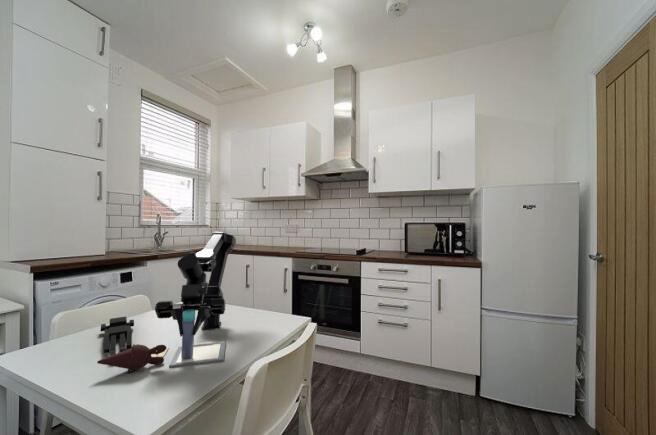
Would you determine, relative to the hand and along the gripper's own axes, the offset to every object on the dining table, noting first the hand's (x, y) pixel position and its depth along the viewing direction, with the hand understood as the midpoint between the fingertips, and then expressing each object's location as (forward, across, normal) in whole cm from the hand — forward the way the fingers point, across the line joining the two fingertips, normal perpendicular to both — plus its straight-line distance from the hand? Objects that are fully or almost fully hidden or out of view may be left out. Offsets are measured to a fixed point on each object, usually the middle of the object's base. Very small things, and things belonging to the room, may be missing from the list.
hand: (187, 335), depth 77 cm
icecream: (+6, -13, +6) cm, 15 cm away
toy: (-8, -23, +20) cm, 31 cm away
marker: (+4, 0, +6) cm, 7 cm away
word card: (-1, -9, +12) cm, 15 cm away
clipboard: (+2, +3, +9) cm, 10 cm away
